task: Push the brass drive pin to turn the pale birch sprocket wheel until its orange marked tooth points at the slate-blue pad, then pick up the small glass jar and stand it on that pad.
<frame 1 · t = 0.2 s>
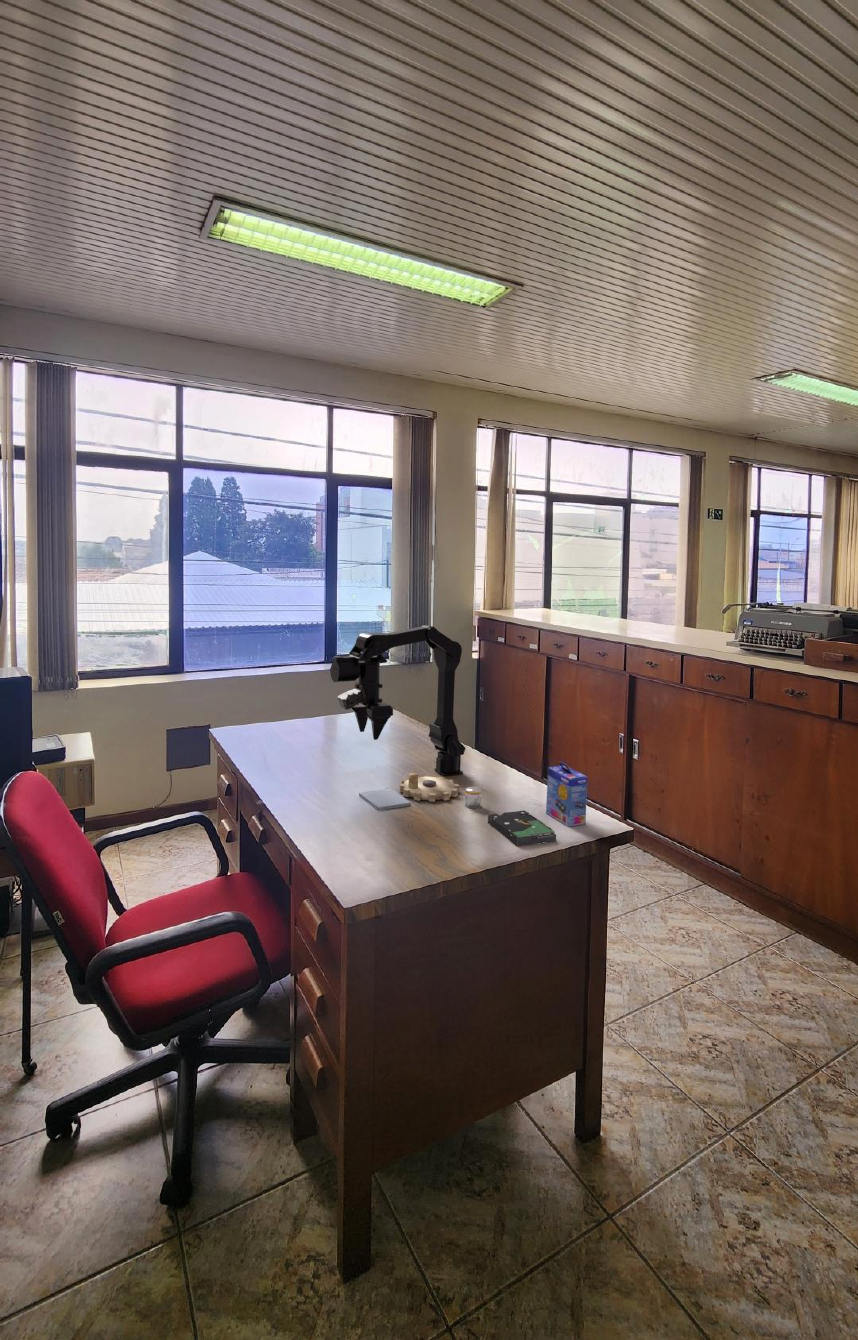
hand: (368, 735, 184), 14 cm above the table, tool pointing down, fingers open, 9 cm apart
small glass jar: (472, 806, 173), on the table
ink cartridge box: (564, 819, 166), on the table
slate pad: (384, 800, 175), on the table
disk drive: (520, 834, 157), on the table
sprocket wheel: (429, 781, 182), point 3 cm above the table, hinge at 0.0°
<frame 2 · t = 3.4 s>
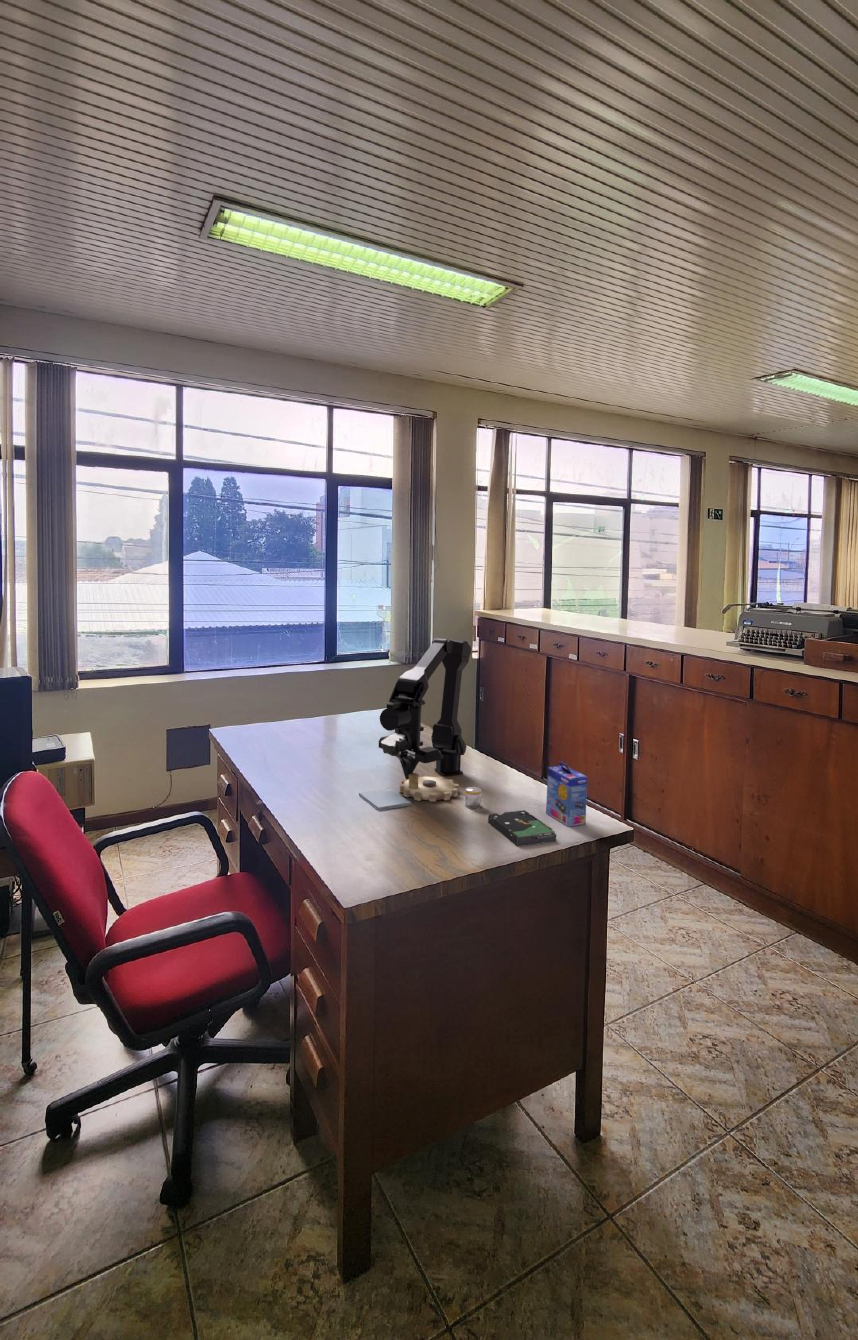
hand: (407, 779, 181), 4 cm above the table, tool pointing down, fingers closed
sprocket wheel: (429, 781, 182), point 3 cm above the table, hinge at 1.3°, touching gripper
everything else where it was.
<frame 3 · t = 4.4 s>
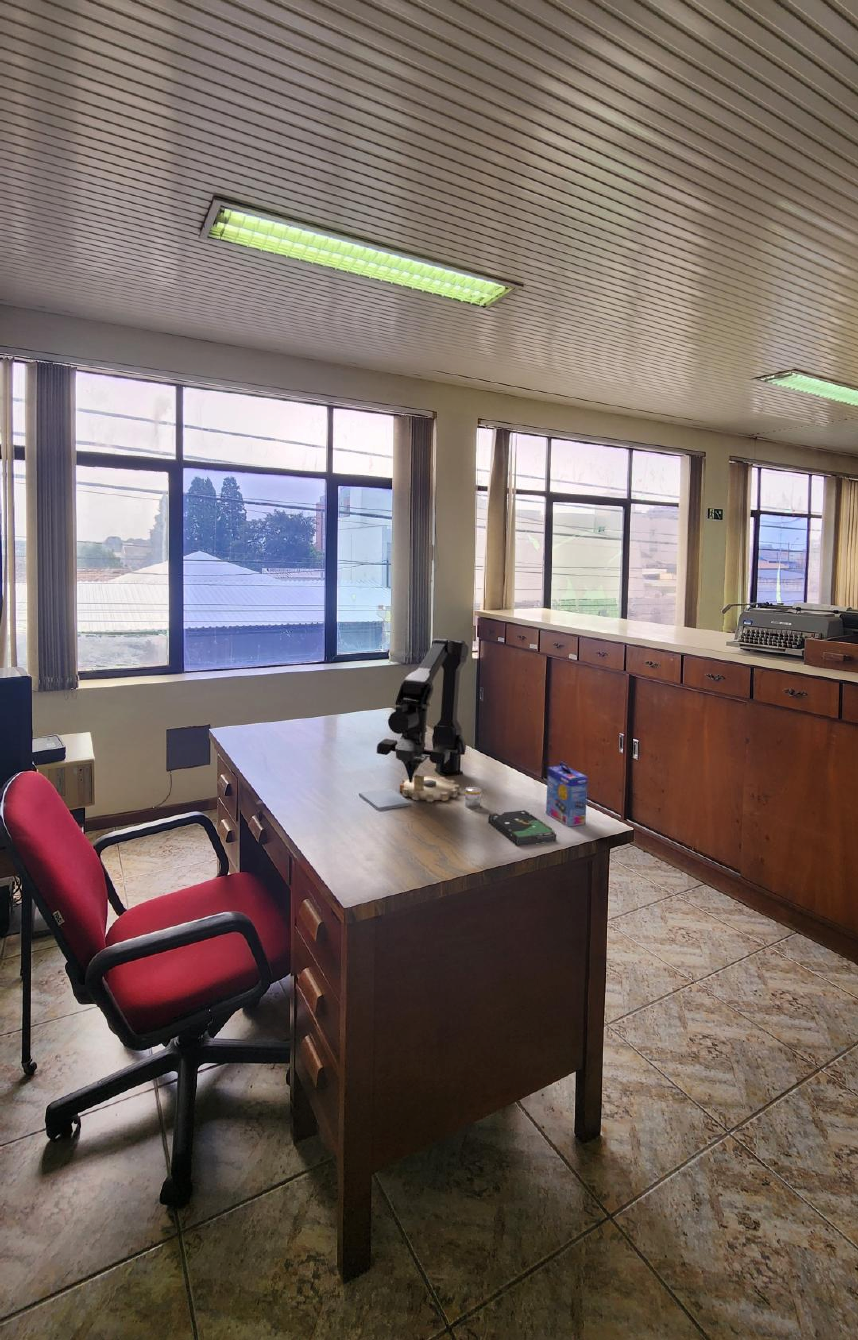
hand: (410, 782, 179), 4 cm above the table, tool pointing down, fingers closed
sprocket wheel: (429, 781, 182), point 3 cm above the table, hinge at 26.4°, touching gripper
everything else where it was.
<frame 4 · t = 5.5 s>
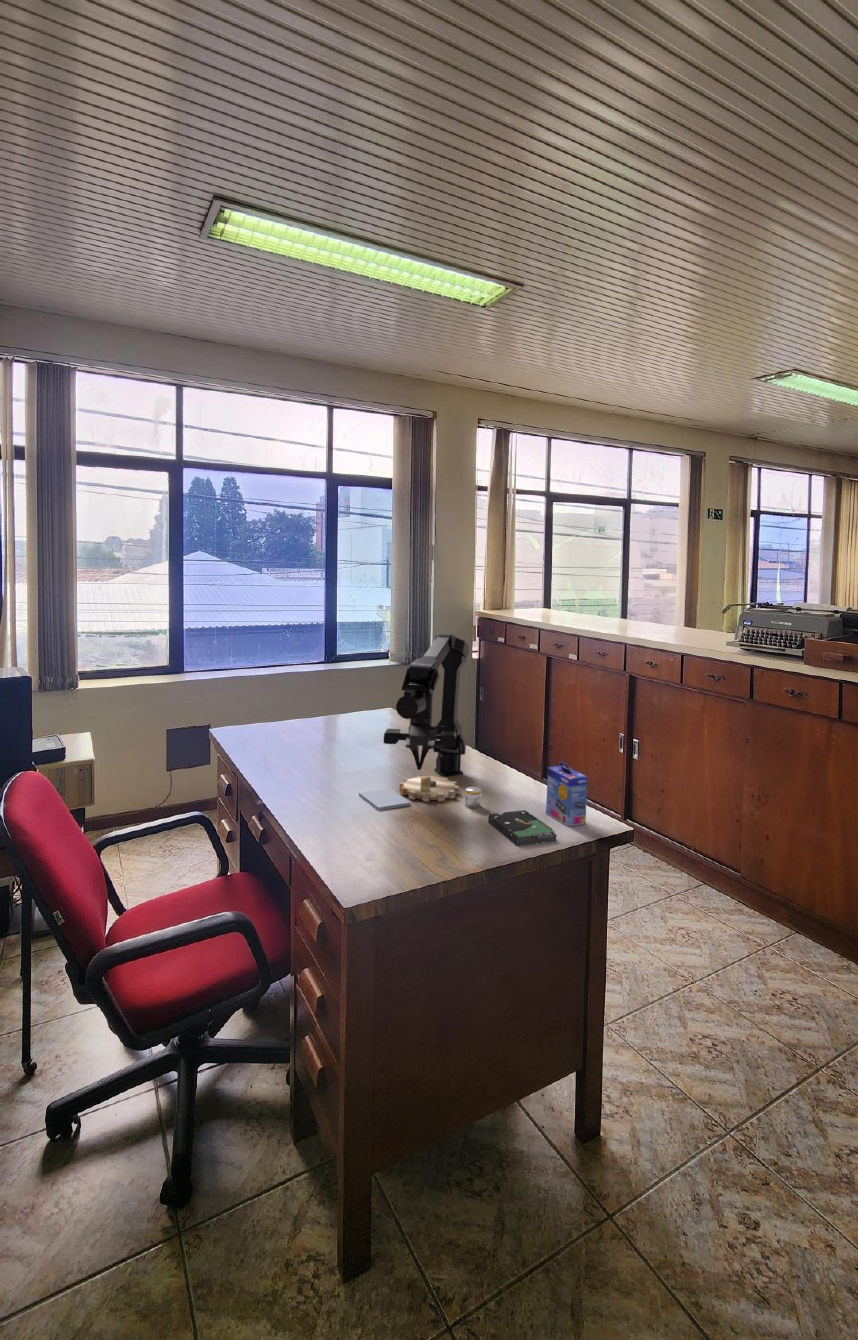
hand: (419, 769, 176), 8 cm above the table, tool pointing down, fingers closed
sprocket wheel: (429, 781, 182), point 3 cm above the table, hinge at 48.1°
everything else where it was.
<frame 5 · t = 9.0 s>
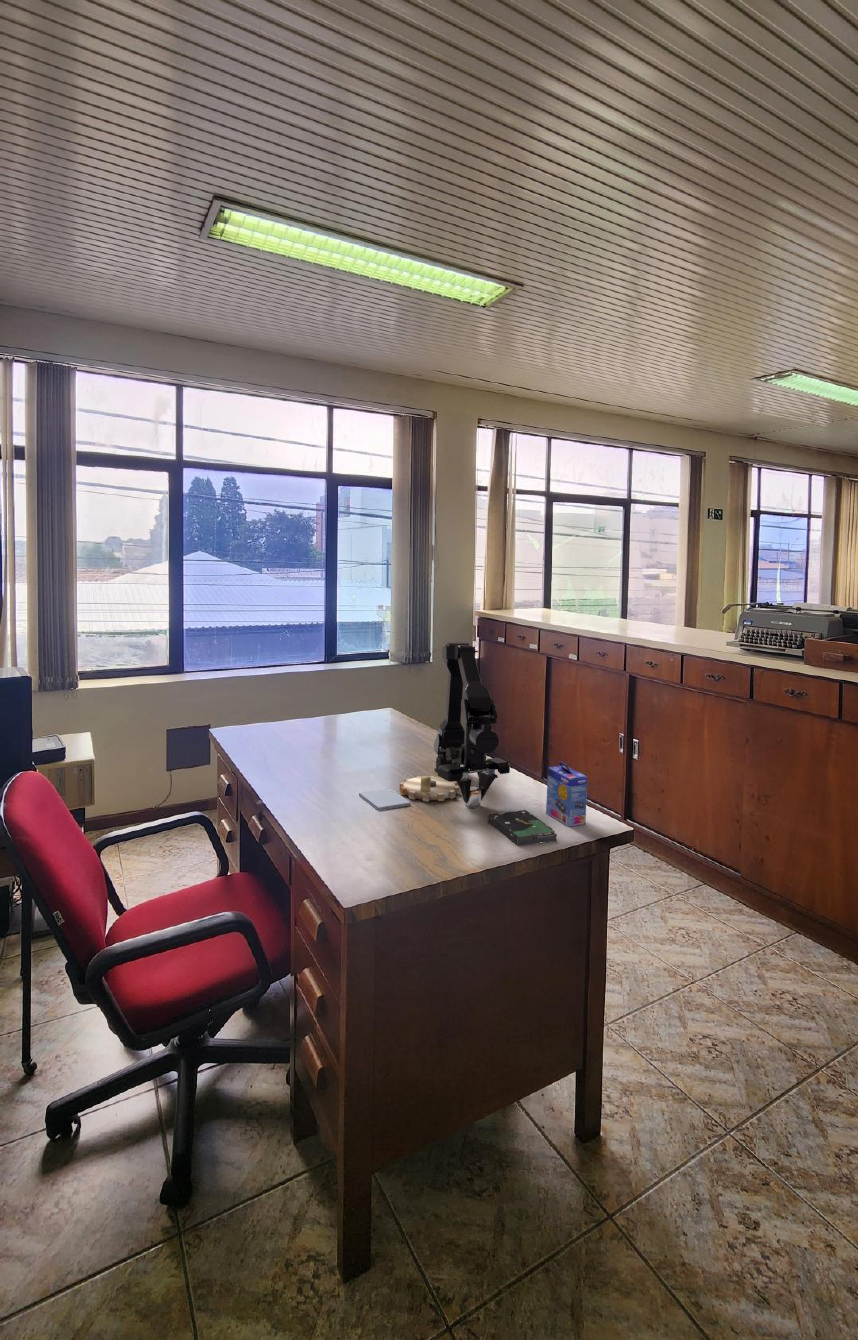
hand: (473, 801, 173), 1 cm above the table, tool pointing down, fingers closed on small glass jar, 4 cm apart
small glass jar: (472, 806, 173), on the table, touching gripper
everything else where it was.
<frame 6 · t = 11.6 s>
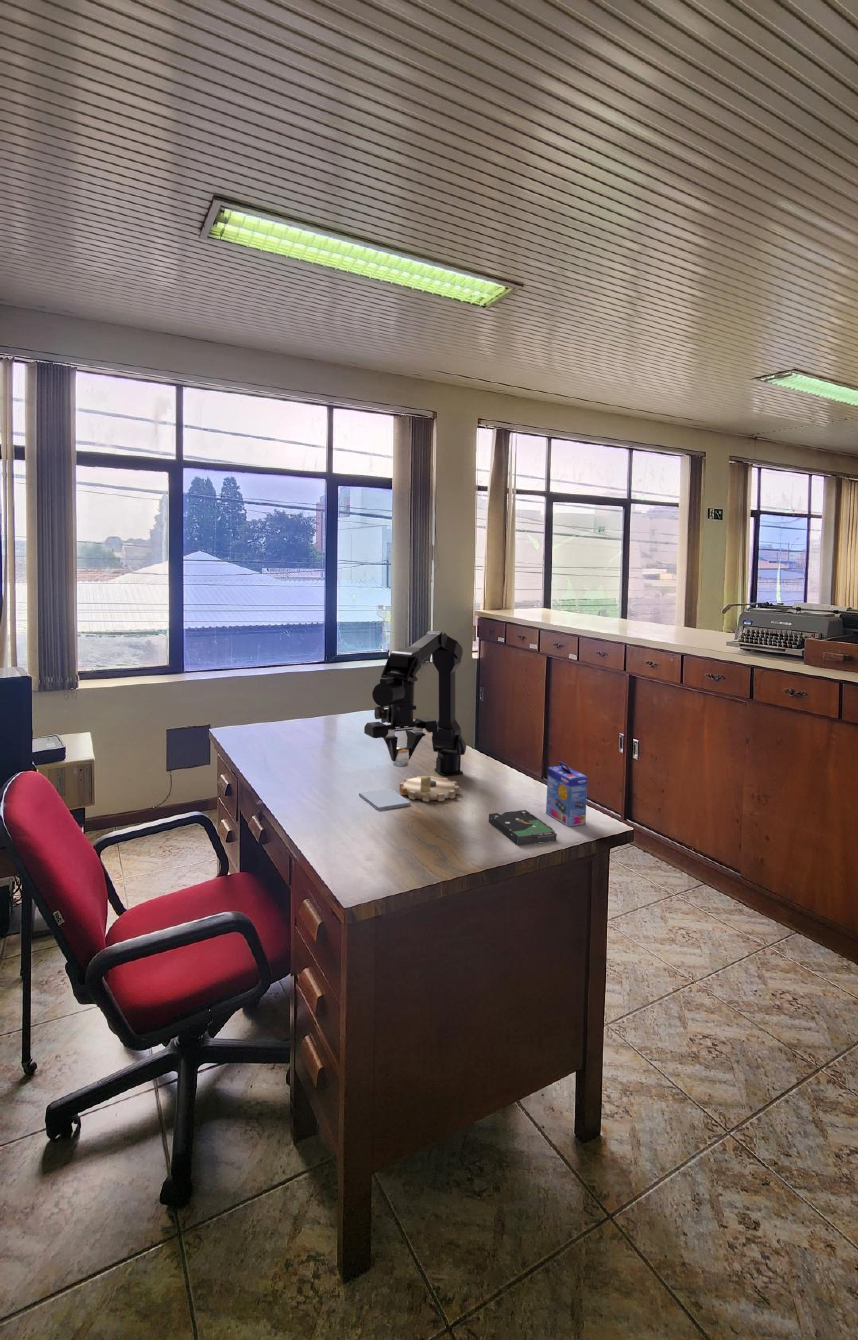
hand: (400, 760, 172), 11 cm above the table, tool pointing down, fingers closed on small glass jar, 4 cm apart
small glass jar: (400, 764, 172), point 10 cm above the table, touching gripper
everything else where it was.
when the fingers open (3 cm above the table, at t = 14.1 s): small glass jar drops 1 cm, resting on slate pad.
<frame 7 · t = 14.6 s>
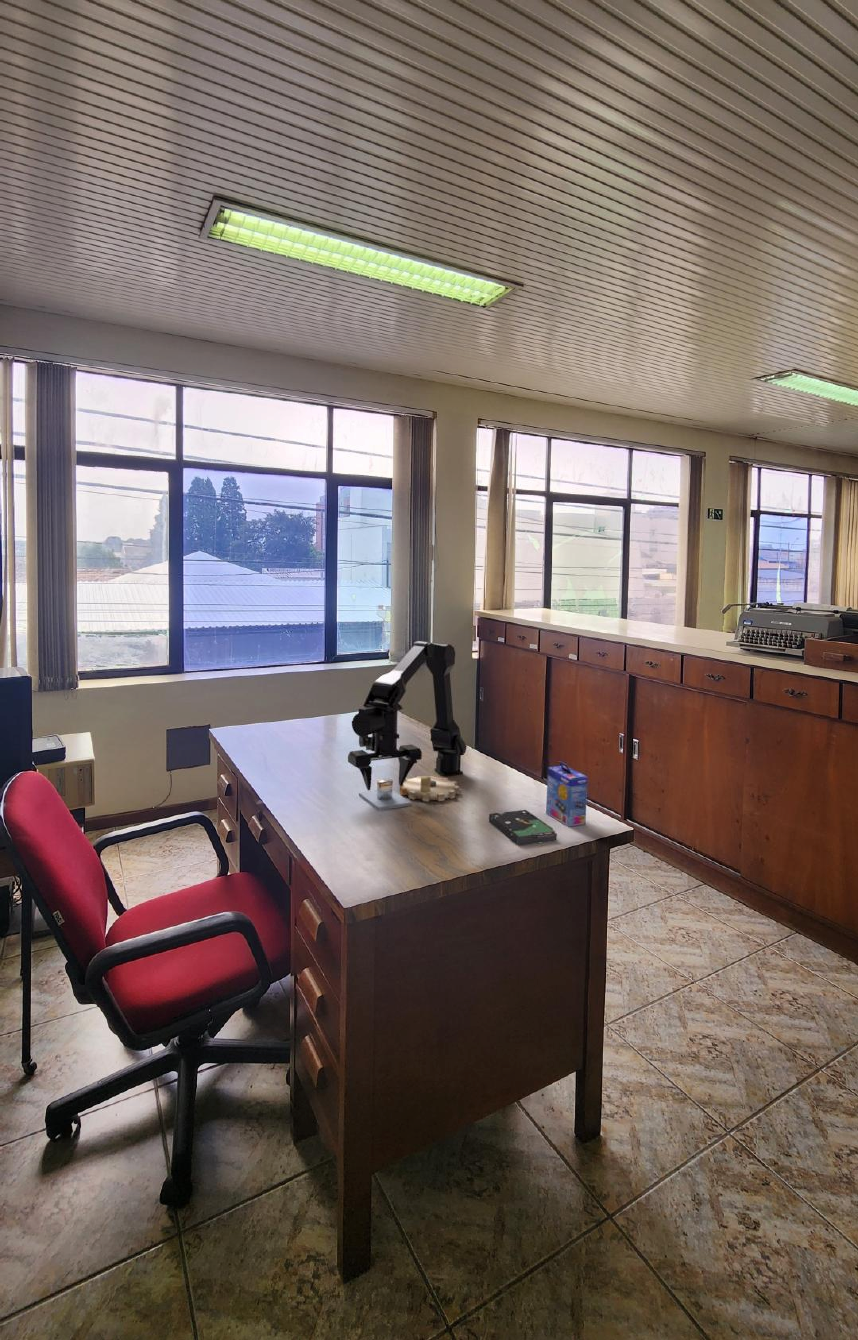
hand: (384, 787, 174), 3 cm above the table, tool pointing down, fingers open, 9 cm apart
small glass jar: (384, 797, 174), point 1 cm above the table, touching slate pad
everything else where it was.
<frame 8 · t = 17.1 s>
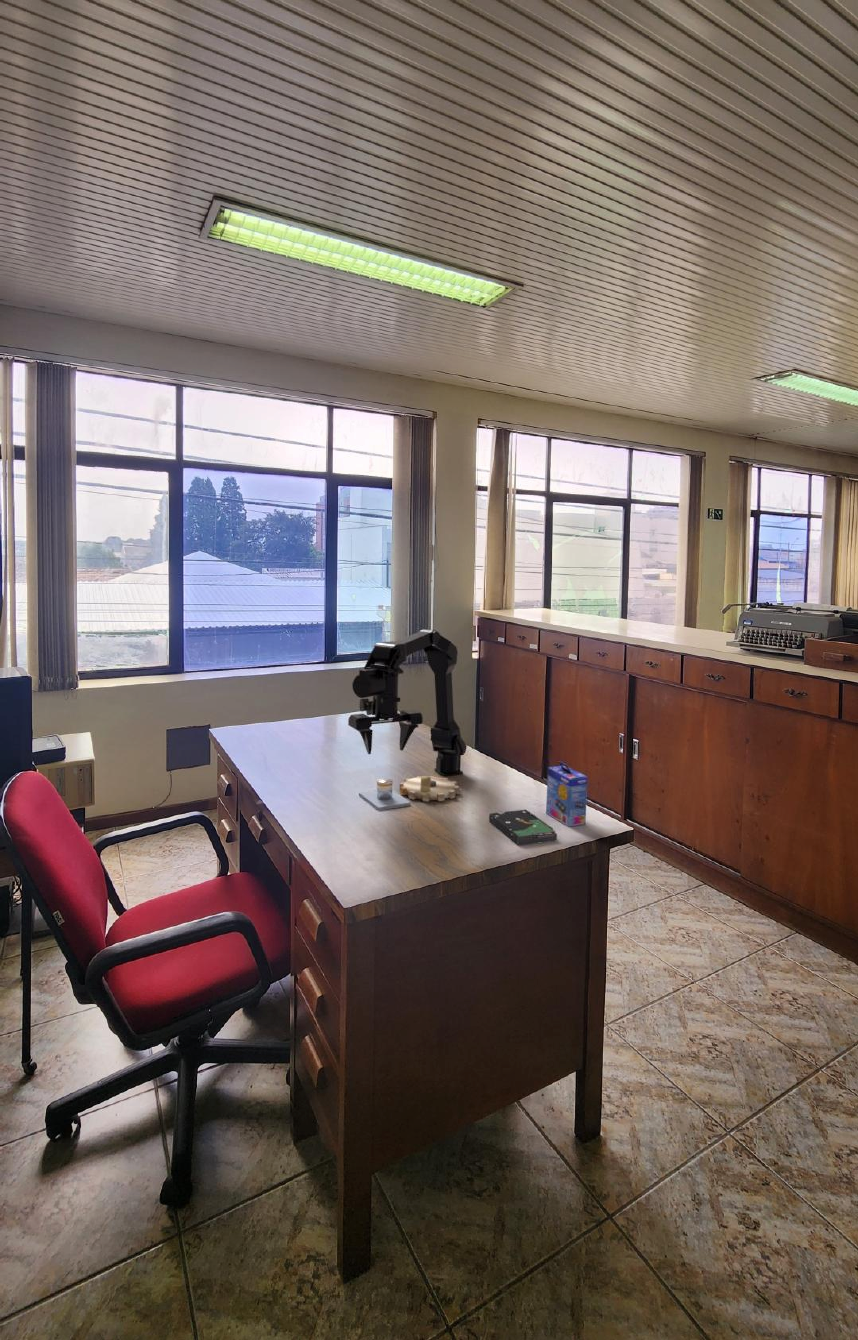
hand: (385, 752, 173), 13 cm above the table, tool pointing down, fingers open, 9 cm apart
nothing on the table moved.
at the end: sprocket wheel at +48° (first picture: +0°); small glass jar inside the target area on the slate pad (0.1 cm from its centre), point 0.9 cm above the slate pad's base; small glass jar tilted 2° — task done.
